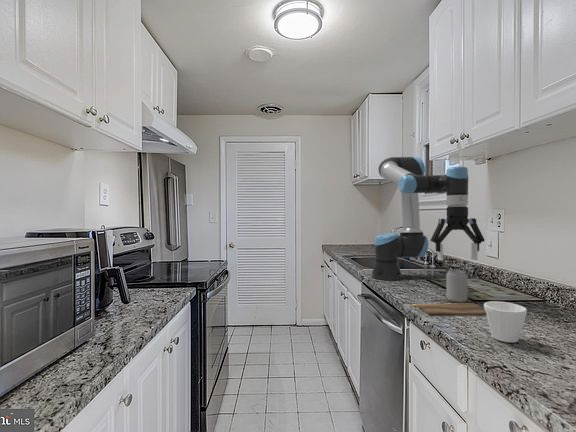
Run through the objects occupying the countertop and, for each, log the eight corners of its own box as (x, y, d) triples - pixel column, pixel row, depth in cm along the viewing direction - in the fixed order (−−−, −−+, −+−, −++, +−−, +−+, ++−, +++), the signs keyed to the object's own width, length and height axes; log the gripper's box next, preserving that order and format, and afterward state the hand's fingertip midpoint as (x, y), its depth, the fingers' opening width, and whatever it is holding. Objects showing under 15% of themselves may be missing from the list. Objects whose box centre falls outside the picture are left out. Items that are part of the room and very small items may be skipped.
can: (462, 298, 129) (462, 268, 129) (471, 303, 122) (471, 272, 122) (443, 297, 130) (443, 268, 130) (450, 303, 123) (450, 272, 122)
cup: (489, 329, 96) (489, 299, 96) (530, 339, 89) (530, 306, 88) (478, 339, 89) (479, 306, 89) (522, 350, 82) (522, 314, 82)
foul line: (411, 304, 121) (411, 304, 121) (474, 304, 121) (474, 303, 121) (413, 305, 120) (413, 305, 120) (476, 305, 120) (476, 304, 120)
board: (416, 306, 119) (416, 304, 119) (474, 305, 119) (475, 303, 119) (429, 315, 109) (429, 313, 109) (492, 314, 109) (492, 312, 109)
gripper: (430, 206, 121) (430, 261, 121) (494, 205, 122) (494, 260, 122) (421, 206, 129) (421, 258, 129) (482, 206, 129) (482, 258, 129)
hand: (457, 260), depth 125 cm, fingers open, 13 cm apart
